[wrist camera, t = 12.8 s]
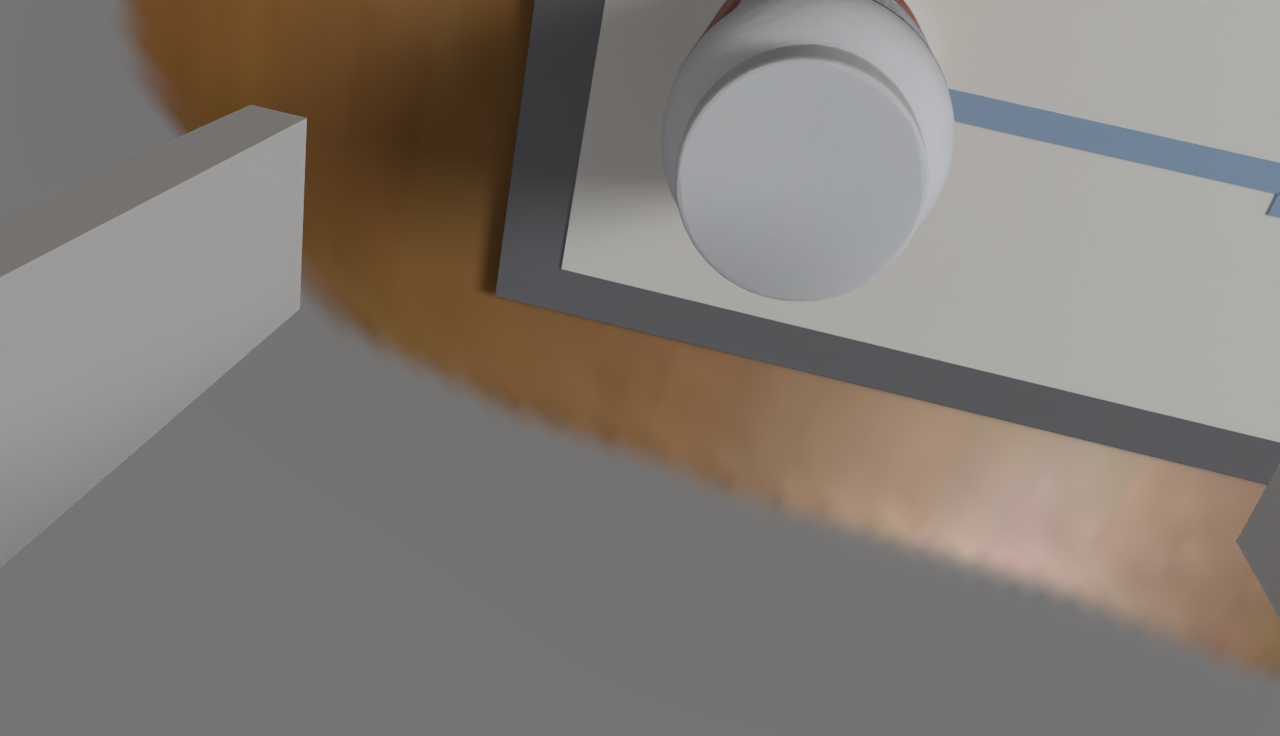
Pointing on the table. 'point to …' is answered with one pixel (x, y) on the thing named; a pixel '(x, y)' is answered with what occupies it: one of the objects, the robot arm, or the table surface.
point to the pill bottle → (807, 142)
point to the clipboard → (964, 219)
